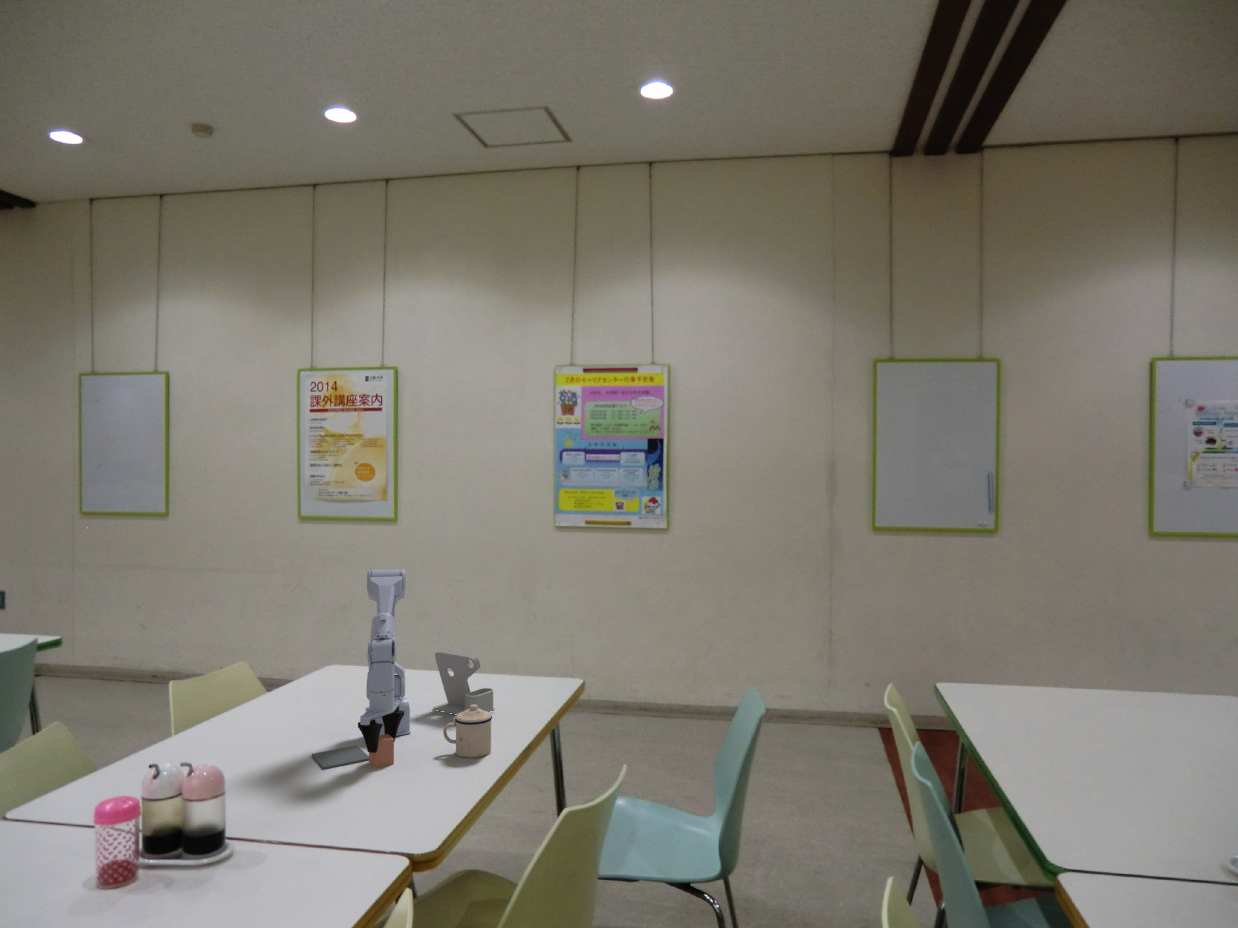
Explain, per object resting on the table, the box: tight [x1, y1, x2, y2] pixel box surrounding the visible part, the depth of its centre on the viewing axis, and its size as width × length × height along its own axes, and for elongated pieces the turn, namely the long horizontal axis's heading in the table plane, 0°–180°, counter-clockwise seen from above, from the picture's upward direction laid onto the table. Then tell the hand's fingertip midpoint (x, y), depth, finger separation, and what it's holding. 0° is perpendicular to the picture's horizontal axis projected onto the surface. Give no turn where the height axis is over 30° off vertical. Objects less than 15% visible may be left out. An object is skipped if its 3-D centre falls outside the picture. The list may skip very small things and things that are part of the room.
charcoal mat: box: [311, 745, 369, 770], centre depth 190 cm, size 11×11×1 cm
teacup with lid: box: [442, 704, 493, 759], centre depth 195 cm, size 12×9×12 cm
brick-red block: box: [368, 734, 395, 769], centre depth 187 cm, size 4×4×6 cm
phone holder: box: [432, 648, 496, 715], centre depth 231 cm, size 17×10×18 cm, turn 57°
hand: (381, 746), depth 187 cm, fingers open, 7 cm apart
